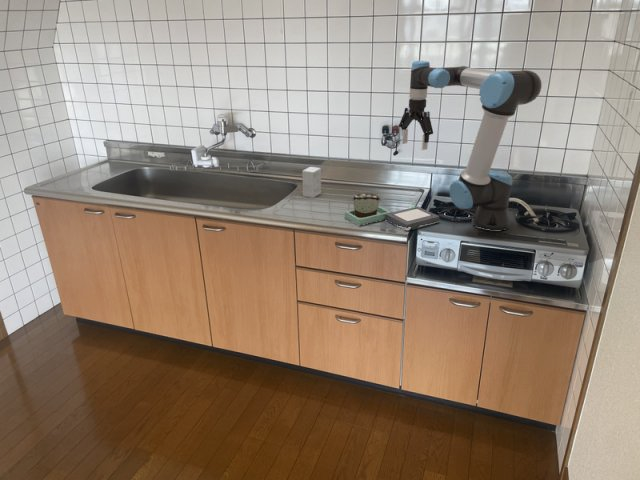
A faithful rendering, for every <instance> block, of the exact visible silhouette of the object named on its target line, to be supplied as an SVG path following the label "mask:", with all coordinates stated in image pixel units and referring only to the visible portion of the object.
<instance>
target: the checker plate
mask: <svg viewBox="0 0 640 480" xmlns="http://www.w3.org/2000/svg"><path fill="white" fill-rule="evenodd" d="M394 216H396V217H398V218H400V219H402V220H404V221H406V222H411V221H414V220H418V219H422V218H426V217H430V216H431V215H430V214H427V213H425V212H423V211H421V210H419V209H414V210H410V211H406V212H402V213H398V214H394Z"/></svg>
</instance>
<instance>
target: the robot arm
mask: <svg viewBox="0 0 640 480" xmlns="http://www.w3.org/2000/svg"><path fill="white" fill-rule="evenodd" d="M430 66H431V65H430V61H427V60H415V61H413V62H412V63H411V70H410V82H409V83H410V84H409V96H408V97H409V99H408V107H404V110H403V115H402V117H401V119H400V122H399V123H398V127H399V128H401V144H402V145H403V144H408V137H409V136H408V135H409V129H408V128H409V126H410V124H412V122H413V121H417V122H418V124H419V125H420V129H421V130H422V133H423V135H422V139H421V150H422V151H425V150H428V144H429V142H430V141H429V140H430V135H433V134H434V130H433V126H432V121H431V118H430V117H431V116H430V115H431V112H430V111H425V108H426V107H427V97H428V96H427V95H428V87H431V88H434V89H444V88H446V87H453V86H457V87H458V86H459V87H466V88H472V89H478V90H479V93H478V95H479V96H480V98H479V100H480V103H481V109H482V111H483V115H482V119H481V122H480V125H479V128H478V132H477V134H476V136H475V137H476V138H475V141H474V143H473V147H472V149H471V153H470V156H469V158H468V163H467V166H466V167H465V168H464V169H463V170H461V172H460V174H459V178H458V179H457V180H454V181H452V182H451V184H450V185H449V198H450V199H451V201H452V203H453V204H454V206H455V207H456V208H458V209H461V210H465V209H468V210H469V209H472V208H476V207H477V208H476V209H475V212H474V214H473V216H472V218H471V224H472V223H473V224H474V225H475V226H477V227H481V228H484V229H490V230H504V229H507V228H508V227H509V228H510V224H511V223H510V219H509V211H508V208H509V203H510V197H511V193H512V185H513V176H512V175H511V174H509V173H507V172H505V171H500V170H495V169H491V168H492V165H493V162H494V160H495V157H496V154H497V151H498V148H499V145H500V143H501V140H502V137H503V135H504V131H505V128H506V126H507V124H508V120H509V118H511V117H513V116H515V113H516V111H517V109H518V106H522V105H526V104H529V103H532V102H533V101H534V100H536V99H537V97H538V96H539V95H540V93H541V91H542V83H543V82H542V80H541V77H540V76H539V74H538V73H536V72H534V71H531V70H527V69H525V70H524V69H523V70H512V71H510V70H509V71H507V70H502V71H499V70H498V71H497V70H490V69H481V68H476V67H475V68H473V67H471V66H465V65H461V66H453V67H452V66H451V67H449V66H448V67H430ZM509 228H508V229H509ZM508 229H507V230H508Z"/></svg>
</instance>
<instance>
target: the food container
mask: <svg viewBox="0 0 640 480" xmlns="http://www.w3.org/2000/svg"><path fill="white" fill-rule="evenodd" d="M351 201H353V210H354V214H355V216H356V217H358V218H365V217H369V216H373V215H377V211H378V206H379V205H380V202H381V196H380V195H379V194H378V193H375V192H369V191H362V192H361V191H360V192H357V193H354V194H353V195H352V199H351Z"/></svg>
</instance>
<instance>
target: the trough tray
mask: <svg viewBox="0 0 640 480" xmlns="http://www.w3.org/2000/svg"><path fill="white" fill-rule="evenodd" d="M388 213H392V211H391V210H387V209H386V208H384V207H382V206H379V205H378V211H377V215H373V216H369V217H365V218H358V217H356V216H355V214H354V209H351V210H347V211H344V219H345V218H346V219H345V220H347V219H348V220H347V221H349V220H350V221H349V222H351V221H352V222H354V223H356V224H358V225H363V224H367V223H371V224H373V223H372V222H375V223H377V222H376V221H379V222H381V221H380V220H383V221H385V220H384V219H385V217H386V214H388ZM352 222H351V223H352ZM354 223H353V224H354ZM356 224H355V225H356ZM358 225H357V226H358ZM367 225H368V224H367ZM363 226H364V225H363Z"/></svg>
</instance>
